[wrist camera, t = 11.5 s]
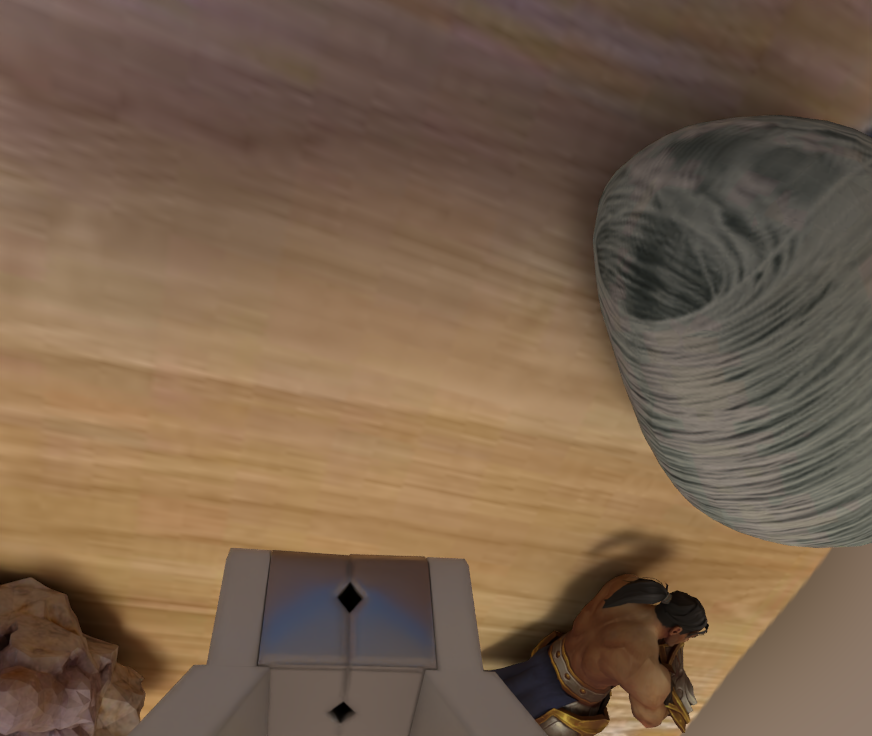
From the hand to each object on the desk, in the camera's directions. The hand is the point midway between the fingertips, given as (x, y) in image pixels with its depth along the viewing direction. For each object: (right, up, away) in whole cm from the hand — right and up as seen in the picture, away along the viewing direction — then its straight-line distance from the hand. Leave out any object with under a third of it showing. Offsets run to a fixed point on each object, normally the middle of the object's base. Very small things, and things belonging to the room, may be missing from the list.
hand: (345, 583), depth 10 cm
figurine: (+2, -15, +28) cm, 32 cm away
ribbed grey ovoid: (+11, +6, +16) cm, 20 cm away
